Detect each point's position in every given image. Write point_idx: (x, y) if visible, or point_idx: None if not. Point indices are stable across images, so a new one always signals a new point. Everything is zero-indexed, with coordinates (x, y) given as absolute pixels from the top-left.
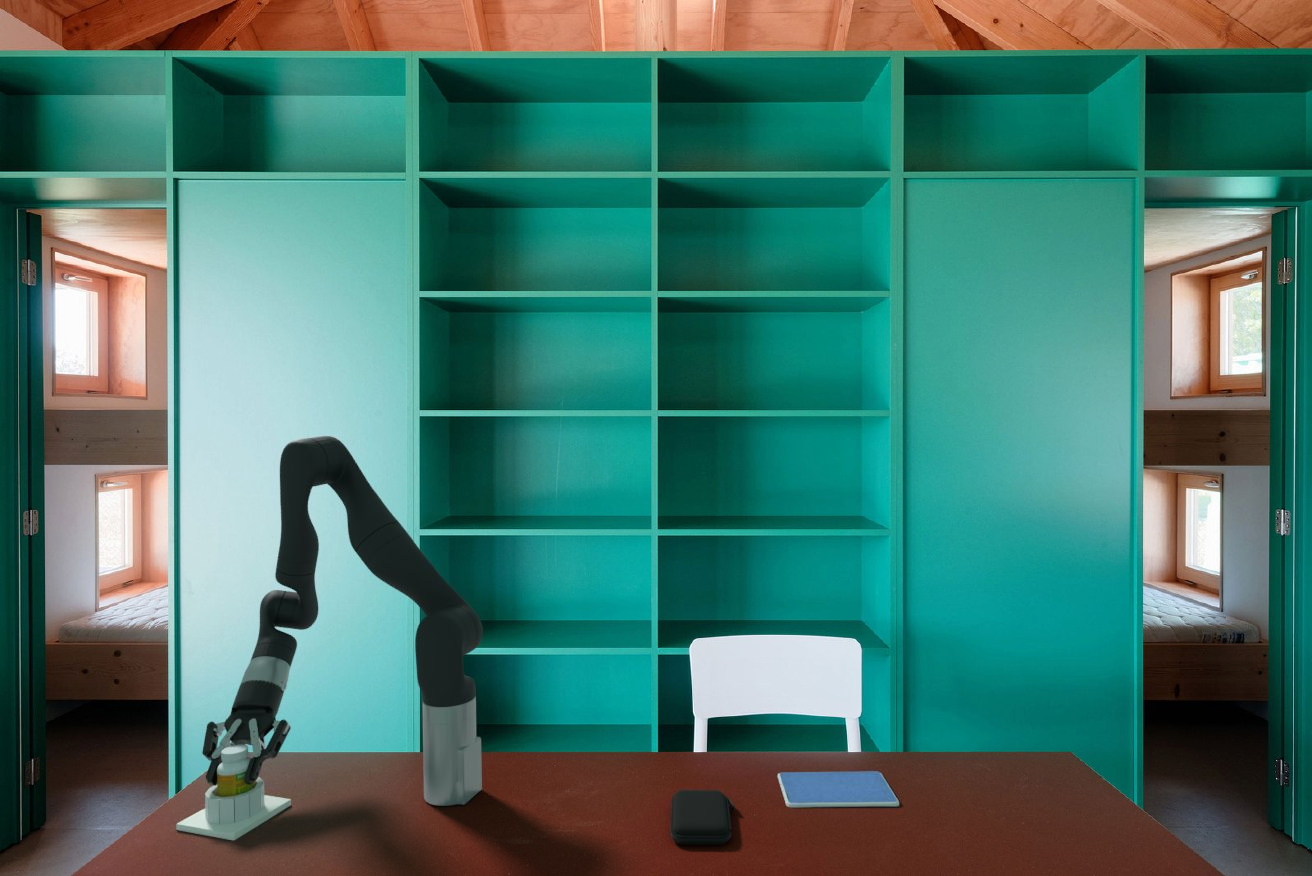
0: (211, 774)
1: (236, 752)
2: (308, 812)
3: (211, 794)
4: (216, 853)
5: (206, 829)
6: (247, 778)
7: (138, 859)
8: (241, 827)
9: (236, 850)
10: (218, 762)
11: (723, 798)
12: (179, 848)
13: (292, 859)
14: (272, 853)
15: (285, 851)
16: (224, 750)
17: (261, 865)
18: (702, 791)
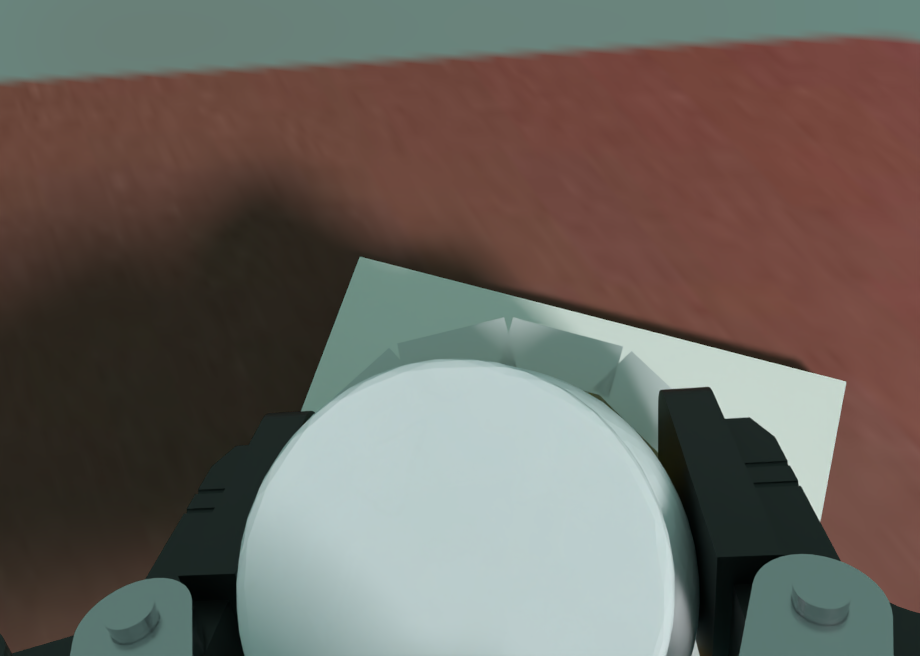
0: (697, 421)
1: (336, 413)
2: (47, 611)
3: (646, 419)
4: (399, 154)
5: (572, 313)
6: (275, 414)
7: (802, 87)
8: (353, 334)
9: (307, 183)
10: (706, 542)
11: None
12: (643, 192)
13: (7, 123)
14: (114, 165)
15: (58, 183)
16: (610, 510)
17: (130, 74)
18: None
